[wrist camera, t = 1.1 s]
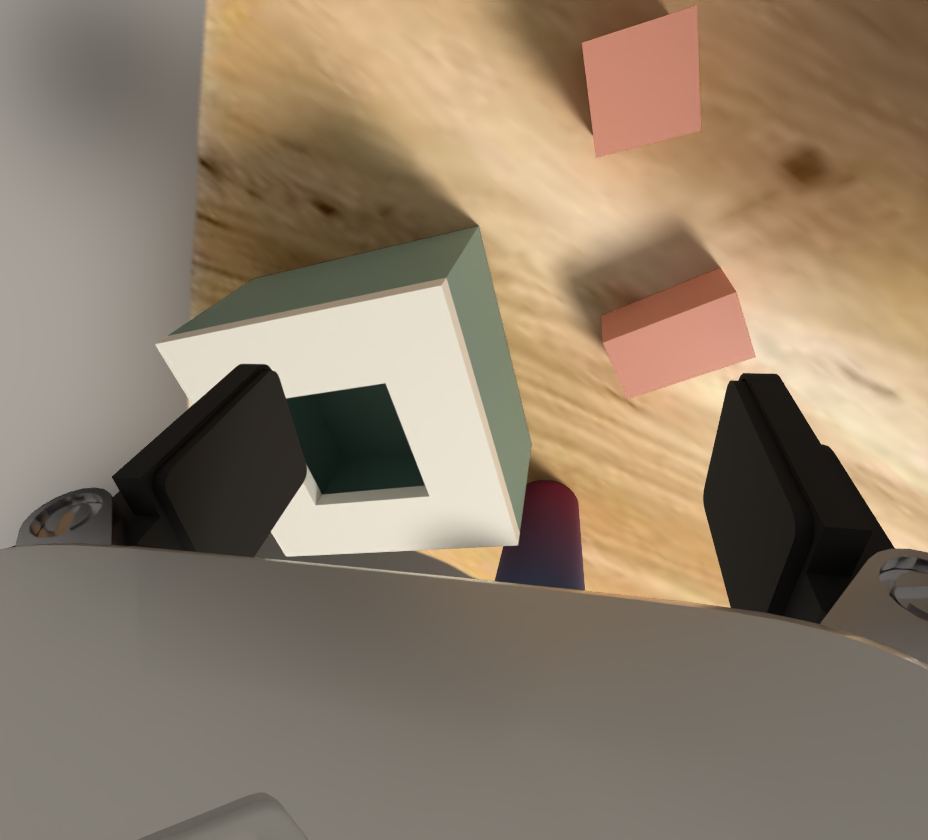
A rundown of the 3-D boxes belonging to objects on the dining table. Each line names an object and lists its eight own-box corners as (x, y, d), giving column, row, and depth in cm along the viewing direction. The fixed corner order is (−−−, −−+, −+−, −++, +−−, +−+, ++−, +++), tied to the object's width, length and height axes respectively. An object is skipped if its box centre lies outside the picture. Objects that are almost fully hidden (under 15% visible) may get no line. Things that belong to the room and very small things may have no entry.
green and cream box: (478, 225, 31) (441, 285, 23) (531, 444, 39) (518, 545, 31) (252, 279, 36) (154, 344, 28) (341, 464, 44) (286, 556, 36)
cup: (489, 483, 42) (451, 656, 30) (571, 461, 39) (566, 642, 27) (524, 541, 45) (501, 721, 33) (602, 525, 42) (609, 714, 30)
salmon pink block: (670, 17, 24) (697, 5, 19) (675, 114, 26) (700, 130, 21) (582, 46, 25) (581, 42, 20) (593, 137, 27) (595, 157, 22)
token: (719, 266, 30) (736, 291, 27) (738, 326, 32) (755, 356, 28) (600, 314, 33) (602, 343, 30) (623, 367, 34) (627, 399, 31)
